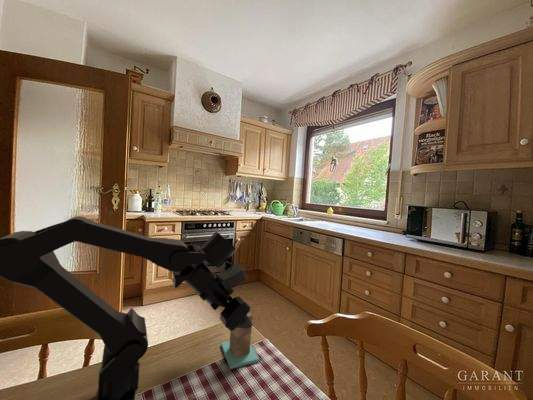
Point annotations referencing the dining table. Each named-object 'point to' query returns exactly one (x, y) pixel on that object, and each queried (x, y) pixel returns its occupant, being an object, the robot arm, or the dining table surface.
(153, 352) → the dining table surface
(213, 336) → the dining table surface
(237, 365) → the mat
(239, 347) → the walnut block
